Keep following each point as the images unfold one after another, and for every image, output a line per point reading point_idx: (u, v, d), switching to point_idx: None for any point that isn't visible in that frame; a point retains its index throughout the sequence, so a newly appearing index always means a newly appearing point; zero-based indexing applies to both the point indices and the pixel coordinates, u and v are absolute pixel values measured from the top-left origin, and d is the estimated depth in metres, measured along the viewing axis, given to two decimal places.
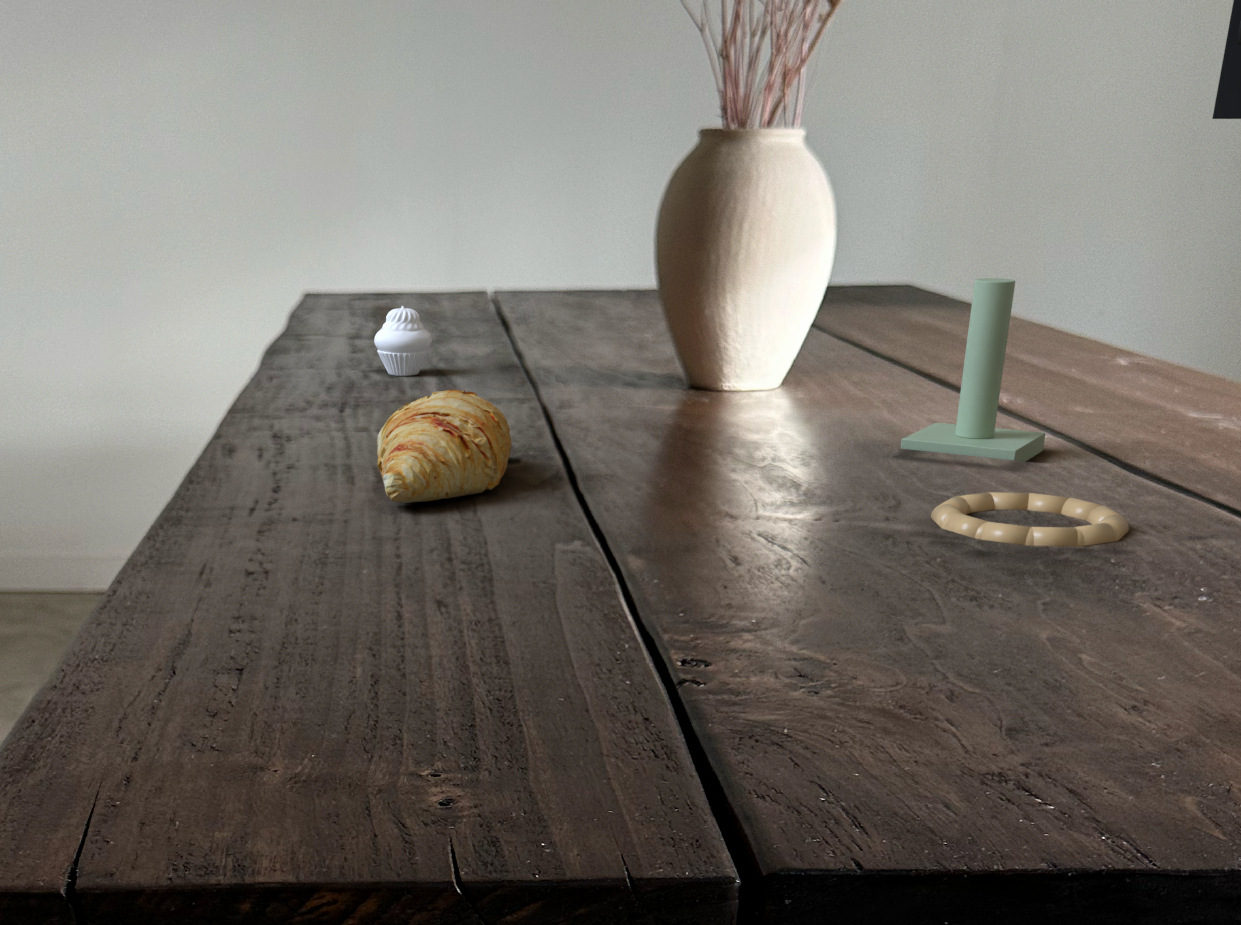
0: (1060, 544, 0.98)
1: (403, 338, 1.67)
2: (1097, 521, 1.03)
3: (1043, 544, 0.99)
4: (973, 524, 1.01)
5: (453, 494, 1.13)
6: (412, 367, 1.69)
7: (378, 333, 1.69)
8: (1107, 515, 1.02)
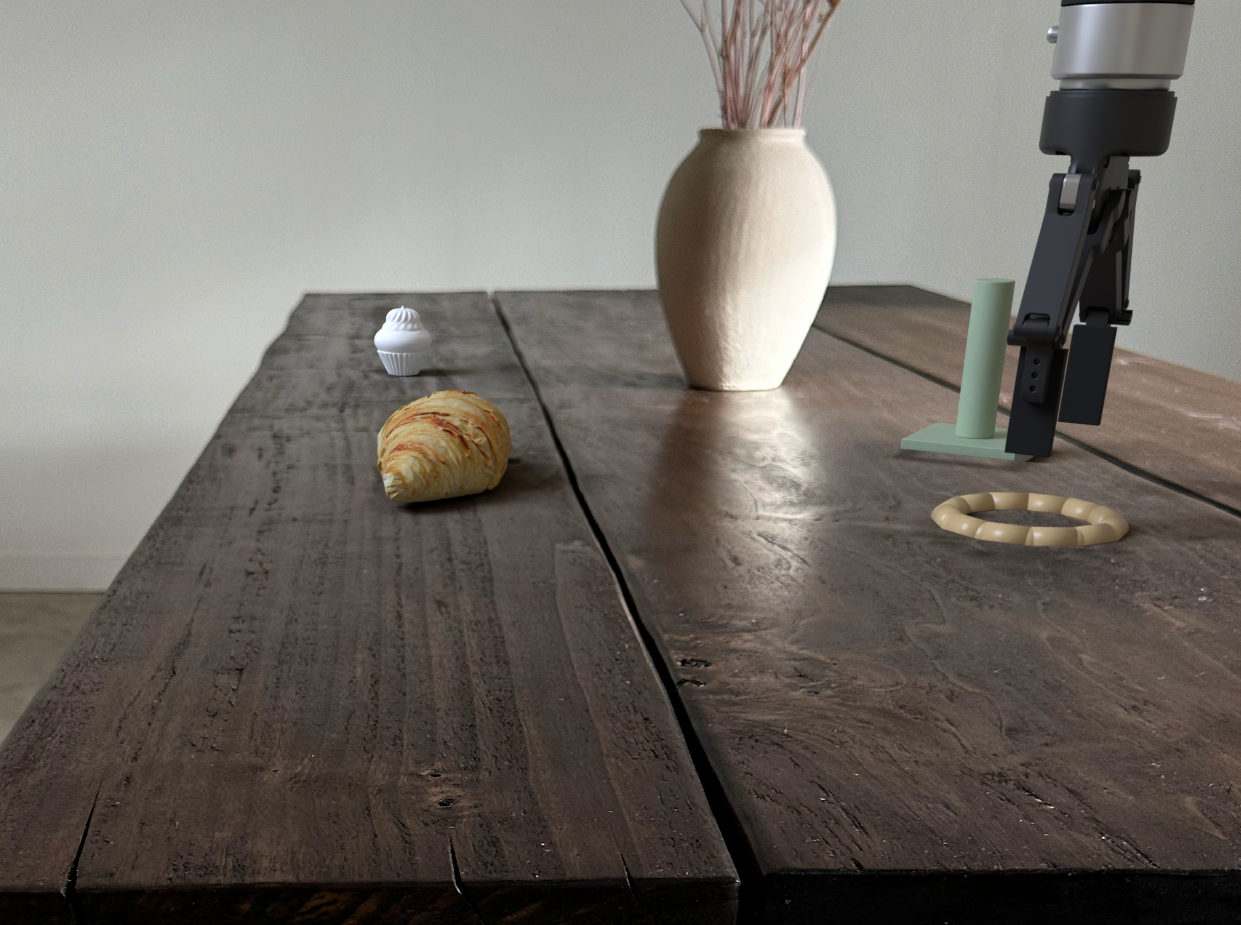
0: (1060, 544, 0.98)
1: (403, 338, 1.67)
2: (1097, 521, 1.03)
3: (1043, 544, 0.99)
4: (973, 524, 1.01)
5: (453, 494, 1.13)
6: (412, 367, 1.69)
7: (378, 333, 1.69)
8: (1107, 515, 1.02)
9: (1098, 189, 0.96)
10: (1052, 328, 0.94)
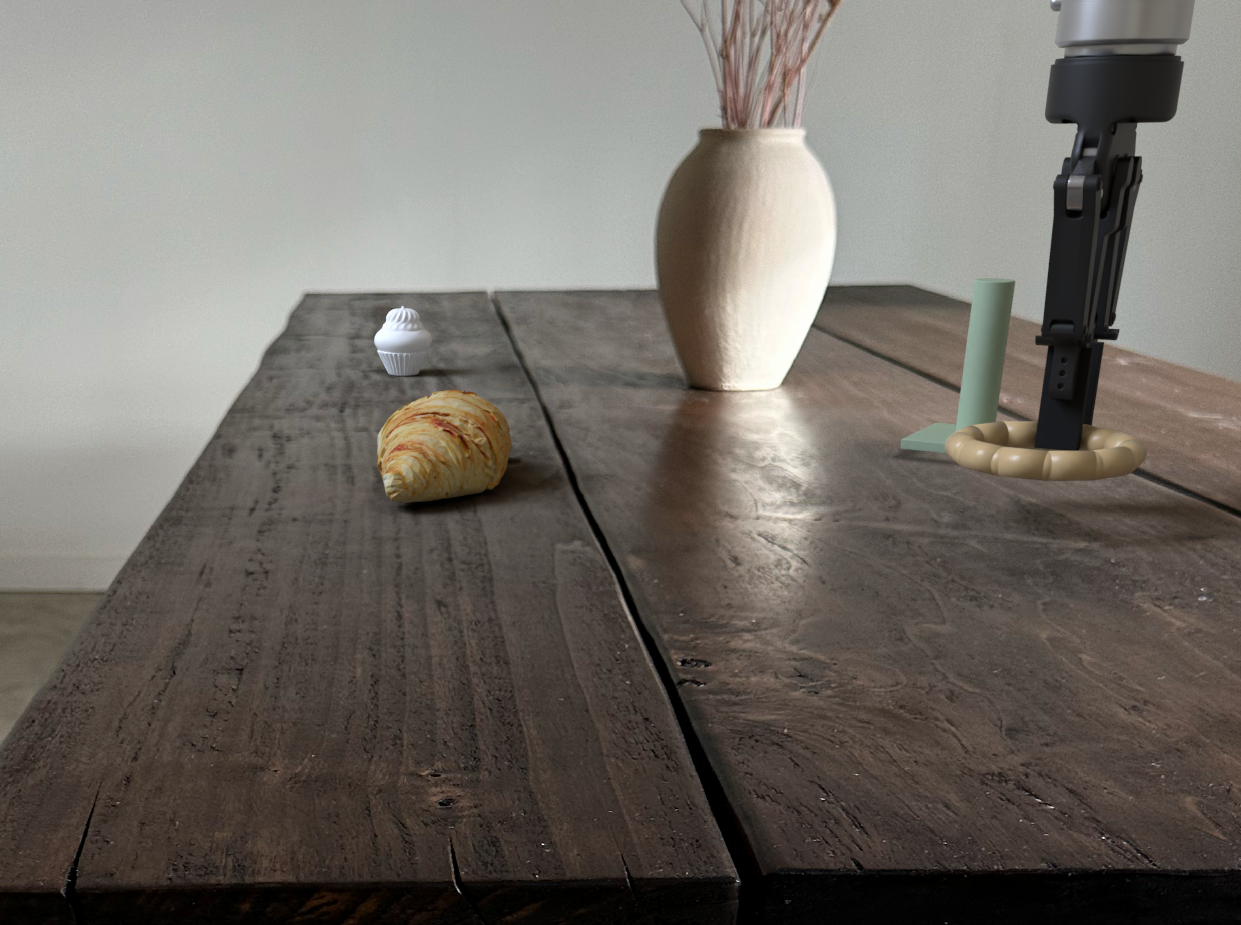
0: (1078, 467, 0.97)
1: (403, 338, 1.67)
2: (1114, 446, 1.01)
3: (1061, 468, 0.97)
4: (989, 450, 0.99)
5: (453, 494, 1.13)
6: (412, 367, 1.69)
7: (378, 333, 1.69)
8: (1125, 439, 1.00)
9: (1105, 165, 0.96)
10: (1078, 334, 0.99)
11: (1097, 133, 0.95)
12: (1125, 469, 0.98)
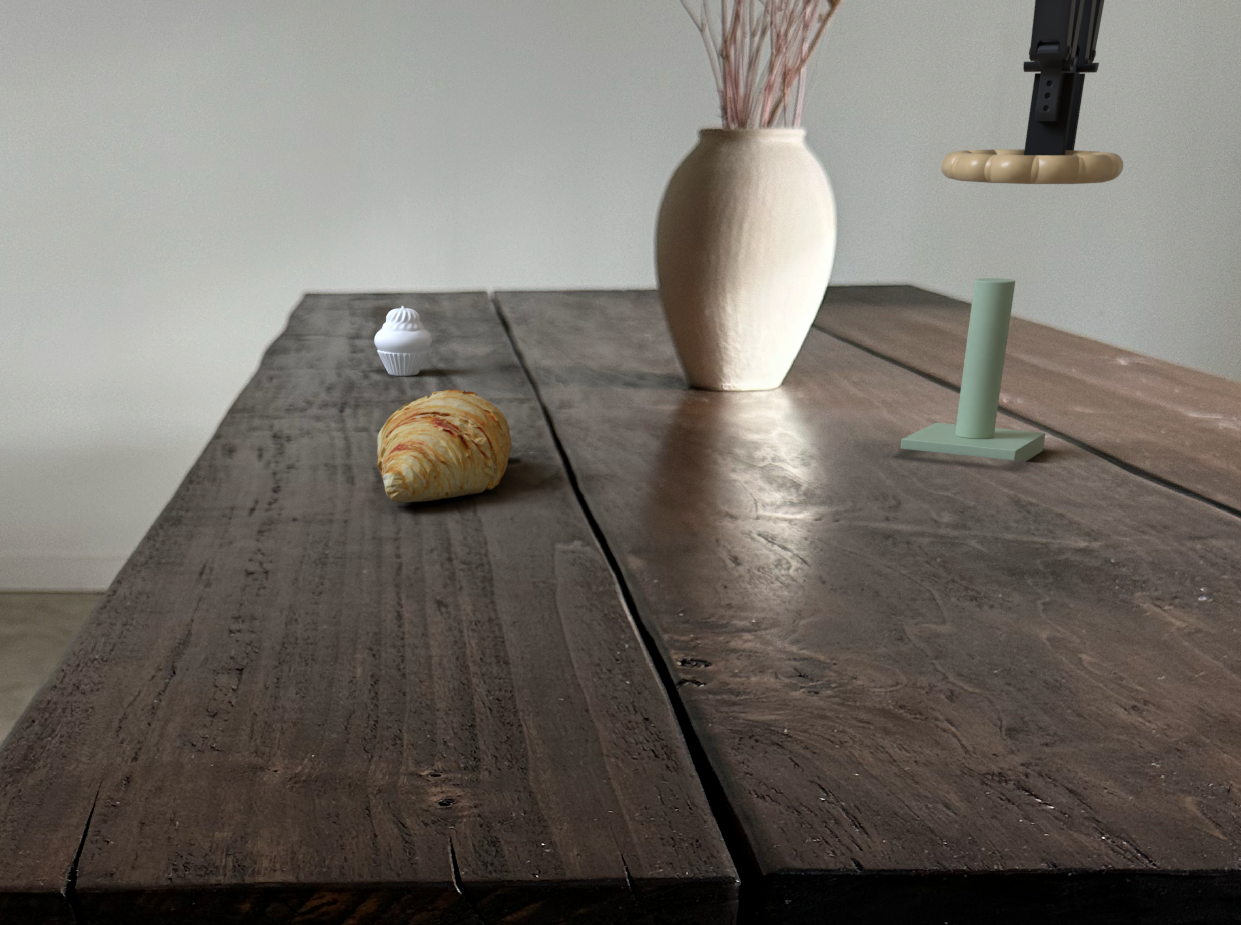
0: (1063, 169, 1.07)
1: (403, 338, 1.67)
2: None
3: (1048, 169, 1.07)
4: (983, 158, 1.09)
5: (453, 494, 1.13)
6: (412, 367, 1.69)
7: (378, 333, 1.69)
8: (1103, 154, 1.11)
9: None
10: (1062, 53, 1.10)
11: None
12: (1104, 174, 1.08)
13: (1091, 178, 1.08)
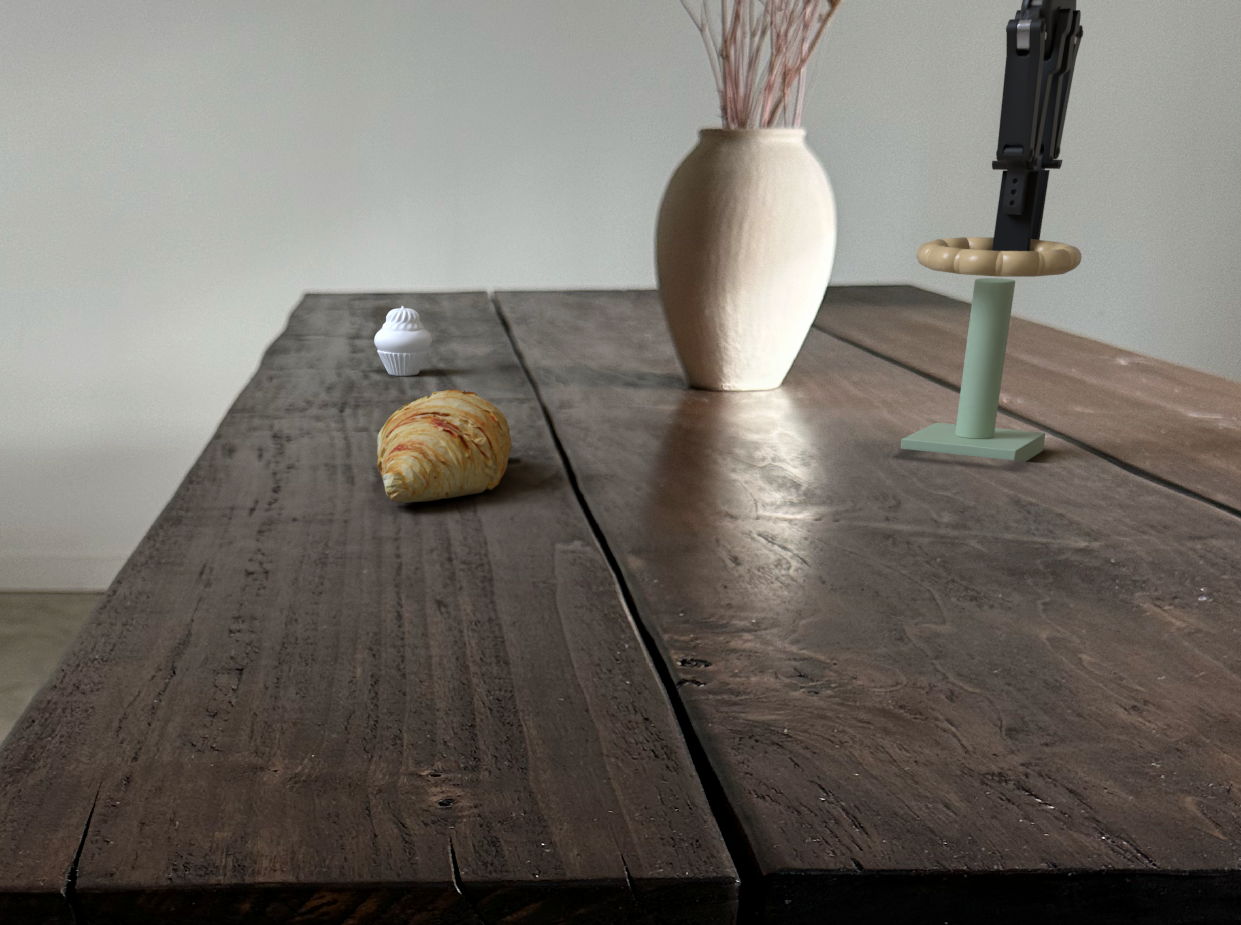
0: (1024, 264, 1.18)
1: (403, 338, 1.67)
2: None
3: (1010, 264, 1.18)
4: (952, 251, 1.20)
5: (453, 494, 1.13)
6: (412, 367, 1.69)
7: (378, 333, 1.69)
8: (1063, 247, 1.22)
9: (1048, 13, 1.17)
10: (1026, 155, 1.20)
11: None
12: (1063, 267, 1.19)
13: (1050, 271, 1.19)
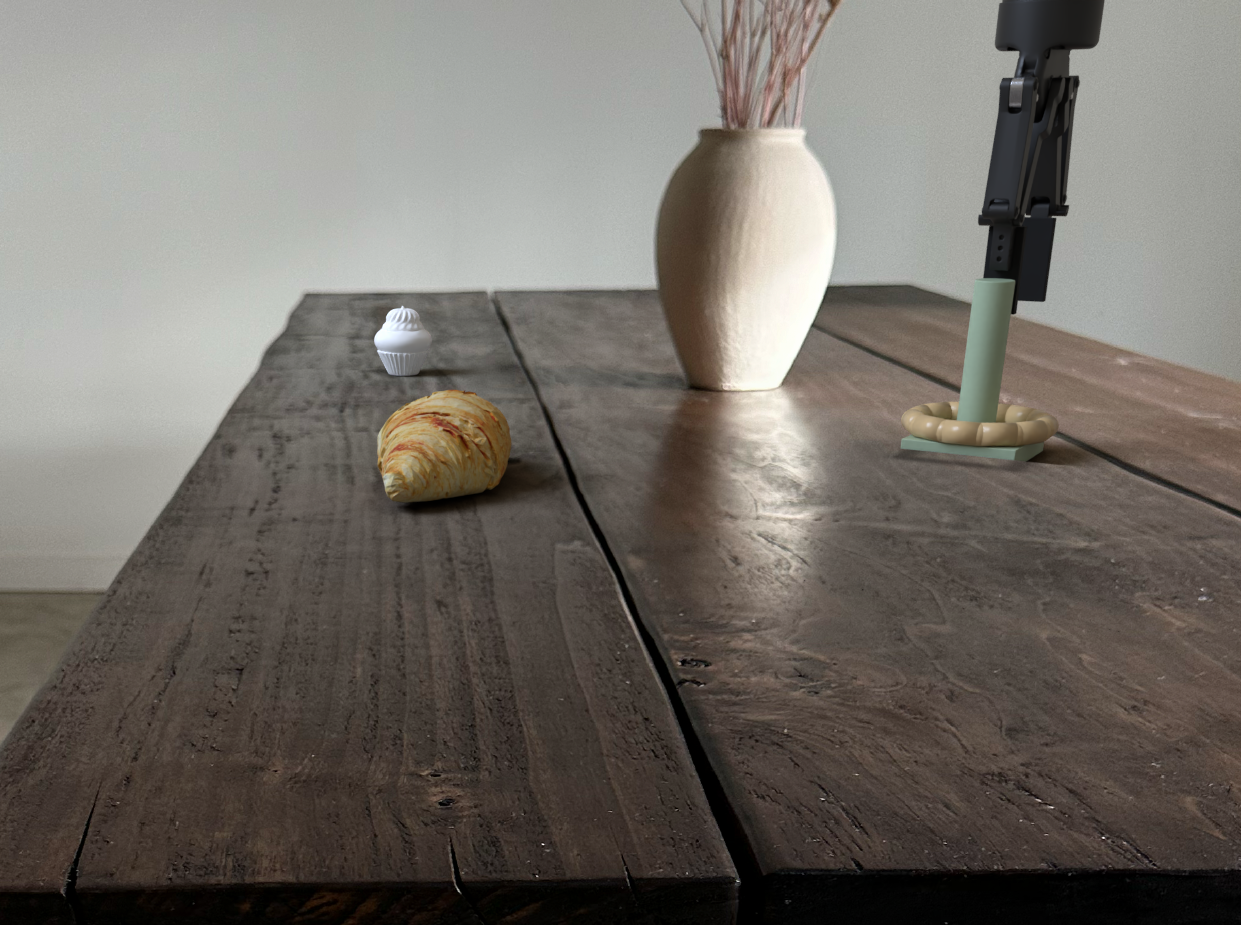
0: (1004, 435, 1.24)
1: (403, 338, 1.67)
2: (1034, 420, 1.28)
3: (990, 436, 1.24)
4: (935, 422, 1.26)
5: (453, 494, 1.13)
6: (412, 367, 1.69)
7: (378, 333, 1.69)
8: (1041, 415, 1.28)
9: (1041, 80, 1.20)
10: (1011, 211, 1.20)
11: (1036, 55, 1.20)
12: (1040, 437, 1.25)
13: (1029, 441, 1.25)
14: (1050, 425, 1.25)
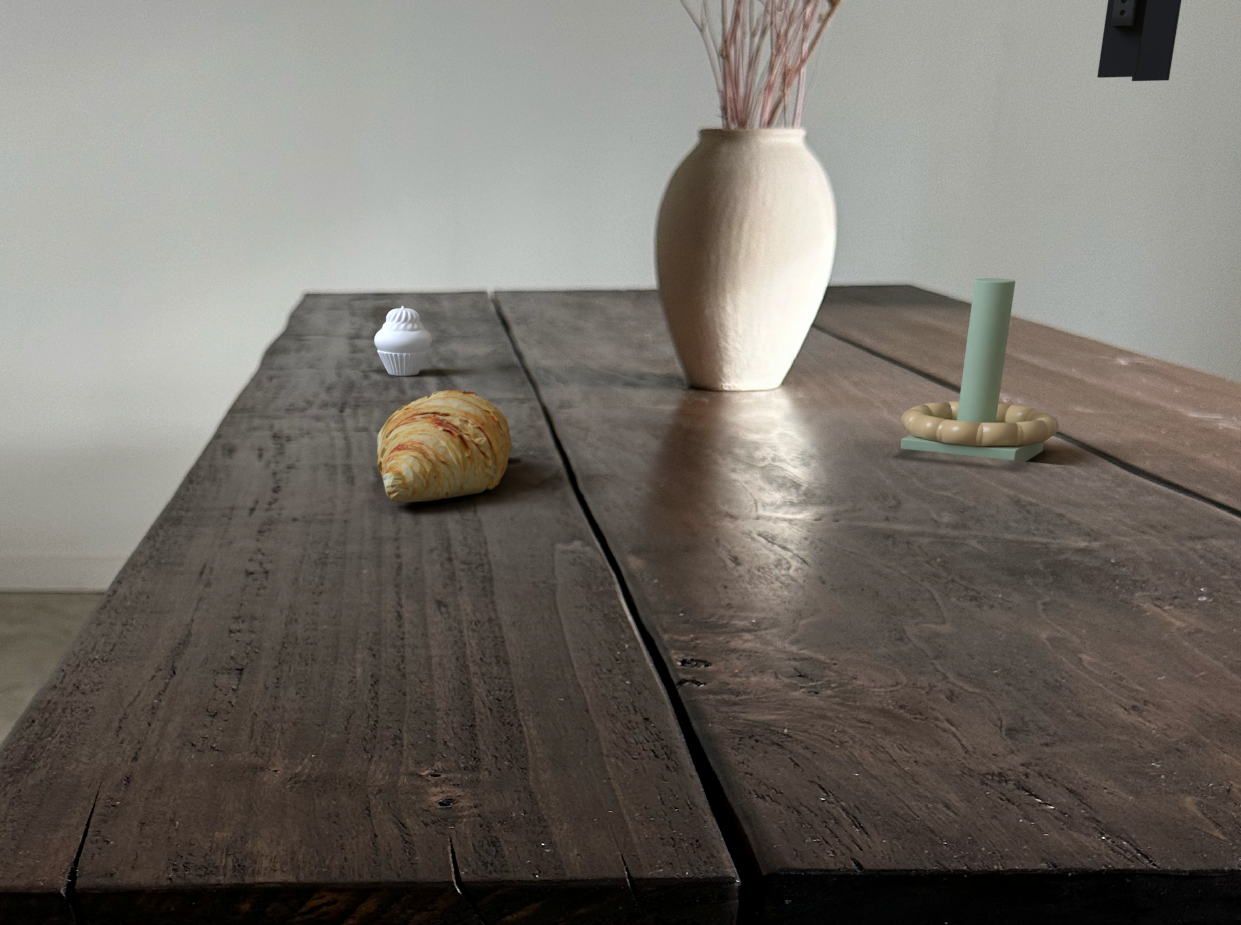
0: (1004, 435, 1.24)
1: (403, 338, 1.67)
2: (1034, 420, 1.28)
3: (990, 436, 1.24)
4: (935, 422, 1.26)
5: (453, 494, 1.13)
6: (412, 367, 1.69)
7: (378, 333, 1.69)
8: (1041, 415, 1.28)
9: None
10: None
11: None
12: (1040, 437, 1.25)
13: (1029, 441, 1.25)
14: (1050, 425, 1.25)
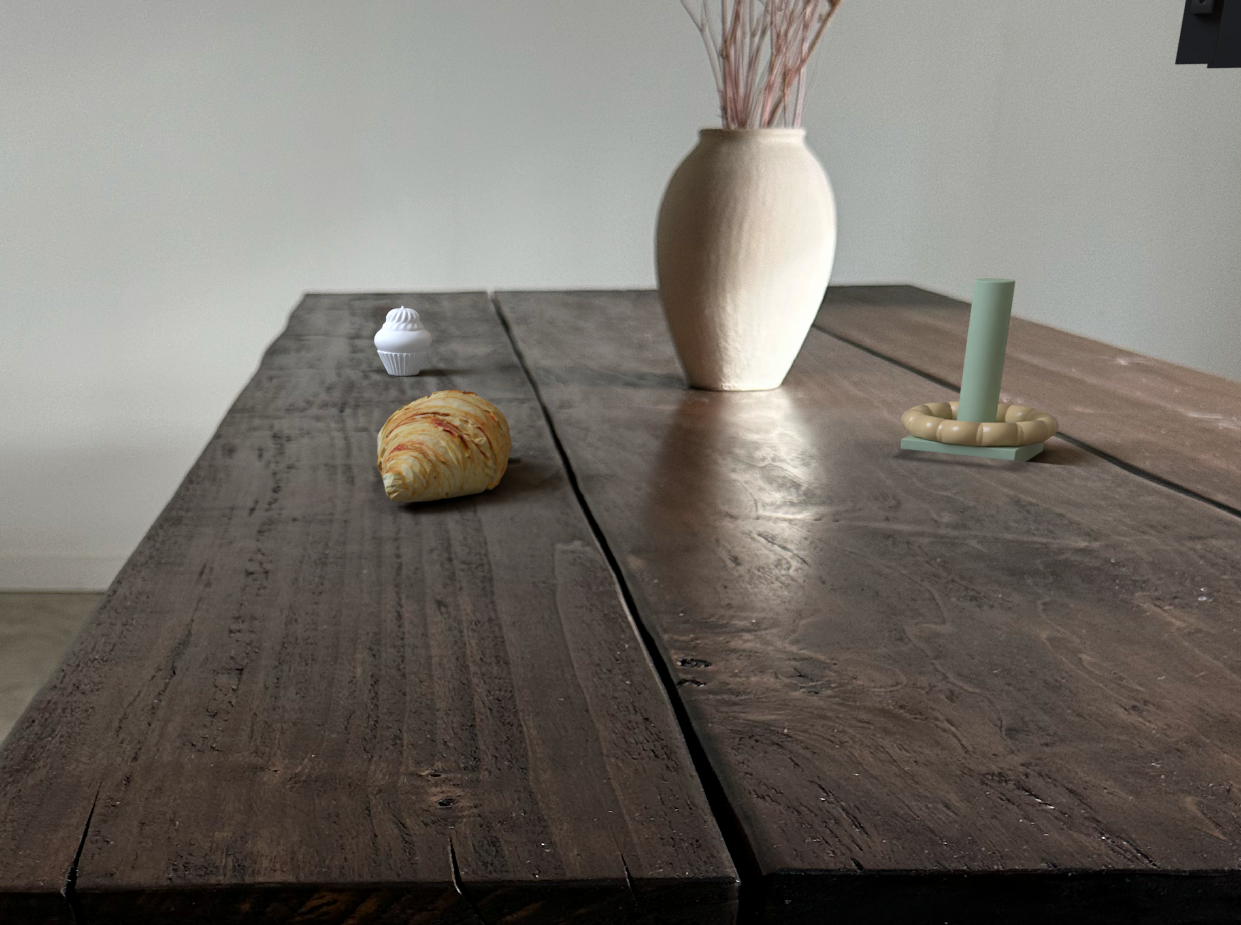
0: (1004, 435, 1.24)
1: (403, 338, 1.67)
2: (1034, 420, 1.28)
3: (990, 436, 1.24)
4: (935, 422, 1.26)
5: (453, 494, 1.13)
6: (412, 367, 1.69)
7: (378, 333, 1.69)
8: (1041, 415, 1.28)
9: None
10: None
11: None
12: (1040, 437, 1.25)
13: (1029, 441, 1.25)
14: (1050, 425, 1.25)
